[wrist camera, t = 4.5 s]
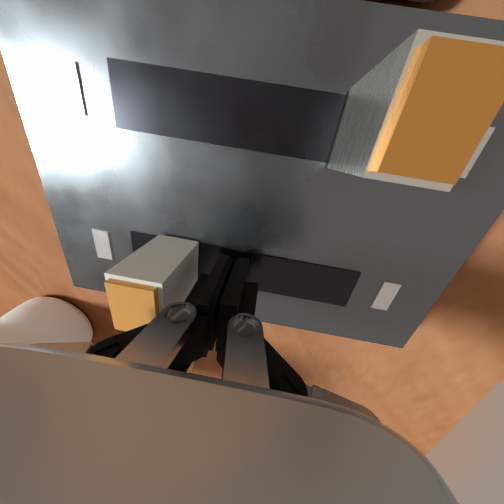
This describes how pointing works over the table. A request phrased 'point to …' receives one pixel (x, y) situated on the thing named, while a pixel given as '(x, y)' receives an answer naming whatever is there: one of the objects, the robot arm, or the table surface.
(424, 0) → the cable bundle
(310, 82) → the slider control panel
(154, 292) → the lever
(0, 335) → the water bottle
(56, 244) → the table surface
